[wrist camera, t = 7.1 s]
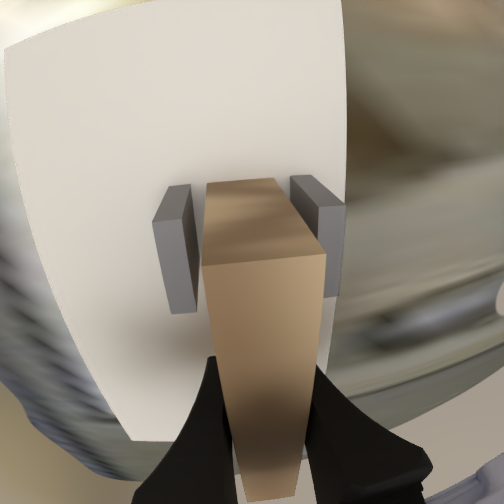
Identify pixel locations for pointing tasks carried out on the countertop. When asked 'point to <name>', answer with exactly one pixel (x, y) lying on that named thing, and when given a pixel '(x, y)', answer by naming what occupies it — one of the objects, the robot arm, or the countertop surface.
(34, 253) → the countertop surface
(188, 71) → the board
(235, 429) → the door panel
